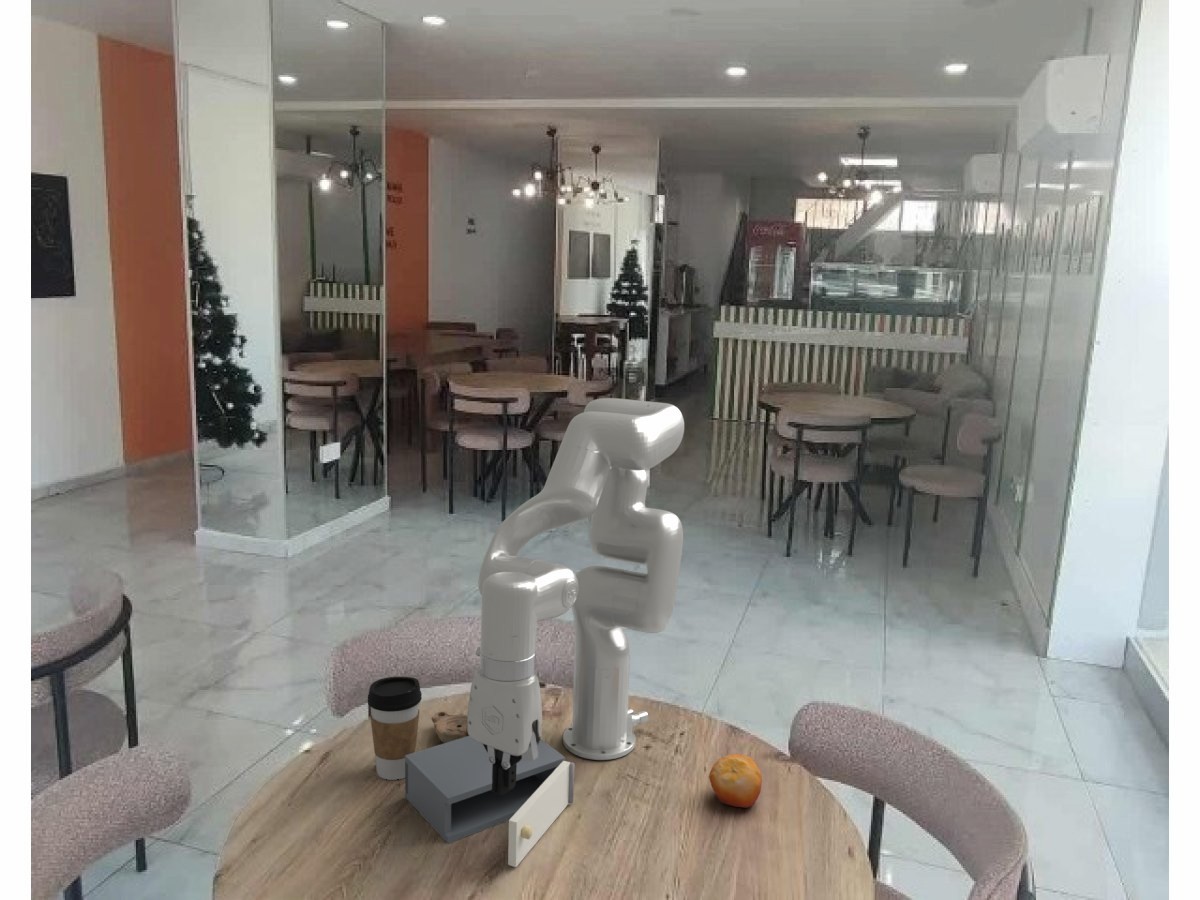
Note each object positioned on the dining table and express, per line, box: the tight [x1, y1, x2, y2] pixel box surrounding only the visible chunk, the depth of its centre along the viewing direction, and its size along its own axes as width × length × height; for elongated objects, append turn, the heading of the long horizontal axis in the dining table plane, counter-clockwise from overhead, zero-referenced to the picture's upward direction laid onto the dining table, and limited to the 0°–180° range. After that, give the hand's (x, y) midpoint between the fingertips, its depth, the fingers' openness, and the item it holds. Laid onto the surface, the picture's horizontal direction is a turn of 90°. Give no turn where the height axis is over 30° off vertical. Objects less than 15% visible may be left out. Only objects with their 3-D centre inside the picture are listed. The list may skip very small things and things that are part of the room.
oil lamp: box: [431, 710, 469, 744], centre depth 155 cm, size 13×8×5 cm, turn 36°
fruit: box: [708, 753, 763, 809], centre depth 141 cm, size 8×8×8 cm
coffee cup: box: [367, 676, 423, 781], centre depth 144 cm, size 8×8×15 cm
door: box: [507, 760, 575, 868], centre depth 130 cm, size 18×2×7 cm, turn 157°
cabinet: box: [404, 736, 566, 844], centre depth 138 cm, size 20×14×7 cm
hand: (503, 789), depth 125 cm, fingers closed
